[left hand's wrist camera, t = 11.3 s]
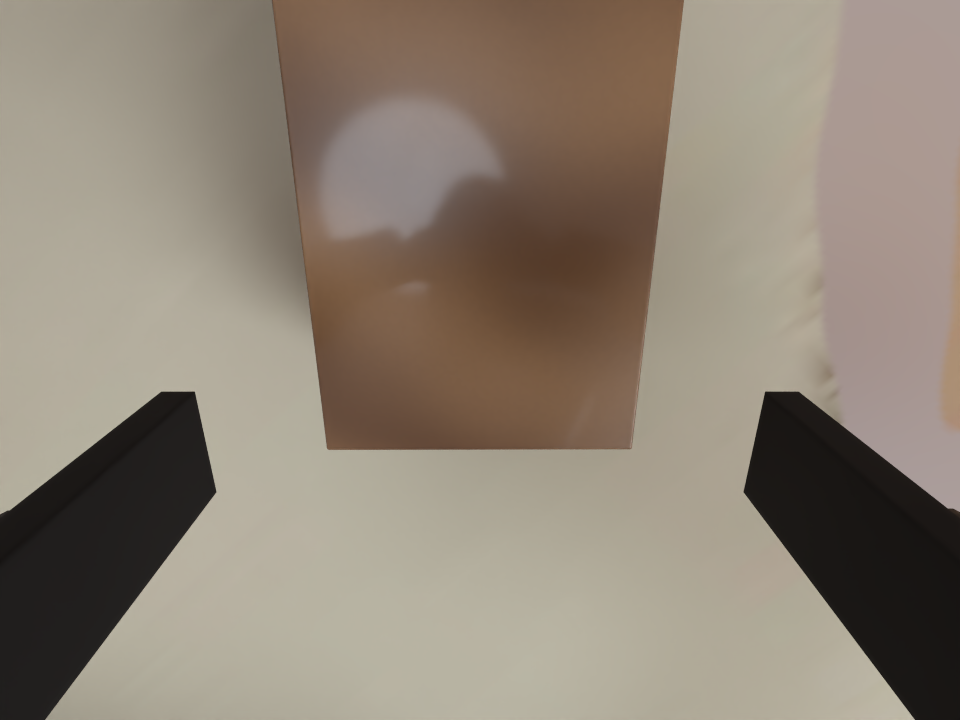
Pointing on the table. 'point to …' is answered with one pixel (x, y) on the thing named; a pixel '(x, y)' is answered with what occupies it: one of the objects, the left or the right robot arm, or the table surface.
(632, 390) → the wooden box
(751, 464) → the left robot arm
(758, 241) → the table surface
